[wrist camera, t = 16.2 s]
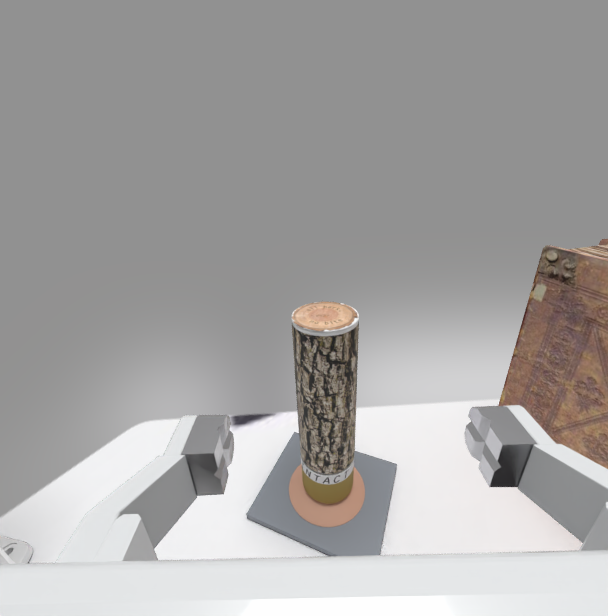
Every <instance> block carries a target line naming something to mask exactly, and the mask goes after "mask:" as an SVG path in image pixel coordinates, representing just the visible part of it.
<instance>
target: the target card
mask: <svg viewBox="0 0 608 616" xmlns="http://www.w3.org/2000/svg"><path fill="white" fill-rule="evenodd" d="M396 467H397V464H395V463H392V462H389V461H385V460H382V459H379V458H376V457H373V456H369V455H366V454H363V453H360V452H357V451H354V476H353V486H352V489H351V491H350V493H349V494H348V496H347V497H346V498H344V499H343V500H341V501H339V502H337V503H332V504H325V503H321V502H318V501H316V500H314V499H313V498H312V497H310V496H309V495H308V493H307V492H306V490H305V488H304V485H303V480H302V465H301V453H300V438H299V433H296V432H294V434H293V435H292V437H291V439H290V440H289V442H288V444H287V446H286V447H285V449H284V451H283V452H282V454H281V456H280V458H279V459H278V461H277V463H276V464H275V466H274V468H273V470H272V471H271V473H270V475H269V476H268V478H267V480H266V482H265V483H264V485H263V487H262V489H261V490H260V492H259V494H258V495H257V497H256V499H255V501H254V502H253V504H252V506H251V507H250V509H249V511H248V513H247V518H248V519H250V520H252V521H254V522H256V523H259V524H261V525H263V526H265V527H267V528H270V529H272V530H274V531H276V532H278V533H281V534H283V535H285V536H287V537H289V538H292V539H294V540H296V541H298V542H300V543H303V544H305V545H307V546H309V547H311V548H314V549H316V550H318V551H320V552H322V553H325V554H327V555H329V556H370V555H380V551H381V546H382V541H383V535H384V530H385V525H386V520H387V514H388V509H389V504H390V499H391V494H392V488H393V483H394V478H395V473H396Z"/></svg>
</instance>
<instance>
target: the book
mask: <svg viewBox="0 0 608 616" xmlns="http://www.w3.org/2000/svg"><path fill="white" fill-rule="evenodd" d="M508 405H520V406H522V407H523V408H524V409H525V410H526V411H527V412H528V413H529V414H530V415H531V416H532V417H533V419H534V420H535V421H536V422H537V423H538V424H539V425H540V426H541V428H542V429H543V430H544V431H545V432H546V433H547V434H548V435H549V436H550V438H551V439H552V440H553V441H554V442H555V443H556V444H562V445H564V446H566V447H568V448H570V449H571V450H573V451H575V452H577V453H579V454H581V455H583V456H584V457H586V458H588V459H590V460H592V461H594V462H595V463H597V464H599V465H601V466H603V467H605V468H606V469H608V239H602V240H601V241H600V243H599V246H592V247H584V248H577V249H569V250H567V249H563V248H559V247H555V246H550V245H547V246H545V247H544V248H543V251H542V254H541V258H540V261H539V265H538V268H537V272H536V275H535V279H534V282H533V286H532V290H531V293H530V297H529V300H528V304H527V307H526V311H525V314H524V318H523V321H522V325H521V328H520V332H519V335H518V339H517V342H516V346H515V349H514V353H513V356H512V360H511V363H510V367H509V370H508V374H507V377H506V381H505V385H504V388H503V391H502V395H501V398H500V402H499V406H508Z"/></svg>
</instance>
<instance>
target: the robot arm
mask: <svg viewBox="0 0 608 616" xmlns="http://www.w3.org/2000/svg"><path fill="white" fill-rule="evenodd" d="M469 418H470V419H471V422H470V423H469V424H468V425H467V426H466V429H465V441H466V445H467V448H468V450H469V452H470V454H471V455H472V456H473V457H474V458H476V459H477V460H478V461H480V464H479V470H480V471H481V473H482V475H483V477H484V478H485V480H486V482H487V483H488V485H489V487H518V489H519V490H520V491H521V492H522V493H524V494H525V495H526V496H527V497H528V498H530V499H531V500H532V501H533V502H534V503H536V504H537V505H538V506H539V507H540V508H542V509H543V510H544V511H545V512H546V513H548V514H549V515H550V516H551V517H552V518H554V519H555V520H556V521H557V522H558V523H560V524H561V525H562V526H563V527H564V528H566V529H567V530H568V531H569V532H570V533H572V534H573V535H574V536H575V537H576V538H578V539H579V540H580V541H581V542H582V543H583V544H582V546H581V548H580V550H579V551H538V552H496V553H454V554H413V555H370V556H326V557H282V558H239V559H195V560H158V558H157V556H156V553H155V551H154V548H155V547H156V546H157V545H158V543H159V542H160V541H161V540H162V539H163V537H164V536H165V535H166V534H167V533H168V531H169V530H170V529H171V528H172V527H173V525H174V524H175V523H176V522H177V521H178V519H179V518H180V517H181V516H182V515H183V514H184V512H185V511H186V510H187V509H188V508H189V506H190V505H191V504H192V503H193V502H194V500H195V499H196V498H197V496H201V495H218V494H224V491H225V487H226V483H227V479H228V470H227V467H228V466H229V465H230V464H231V462H232V458H233V451H234V438H233V433H232V432H231V431H229V428H230V425H231V422H230V418H229V416H228V415H199V416H184V417H182V418H181V419H180V421H179V424H178V426H177V428H176V430H175V432H174V434H173V436H172V438H171V440H170V442H169V444H168V446H167V448H166V450H165V453H164V455H163V456H158V457H156V458H155V459H154V460H153V461H151V462H150V463H149V464H148V465H146V466H145V467H144V468H143V469H141V470H140V471H139V472H137V473H136V474H135V475H134V476H132V477H131V478H130V479H129V480H127V481H126V482H125V483H124V484H122V485H121V486H120V487H119V488H117V489H116V490H115V491H113V492H112V493H111V494H110V495H108V496H107V497H106V498H105V499H103V500H102V501H101V502H100V503H98V504H97V505H96V506H95V507H93V508H92V509H91V510H90V511H88V512H87V513H86V514H85V515H84V517H83V518H82V520H81V522H80V523H79V525H78V526H77V528H76V530H75V531H74V533H73V534H72V536H71V538H70V539H69V541H68V543H67V544H66V546H65V547H64V549H63V551H62V552H61V554H60V555H59V557H58V559H57V560H56V562H55V563H28V562H29V560H30V558H31V555H32V552H33V548H32V547H31V546H30V545H29V544H28V543H26V542H23V541H19V540H15V539H11V538H8V537H4V536H0V616H608V469H606V468H605V467H603V466H601V465H599V464H597V463H595V462H594V461H592V460H590V459H588V458H586V457H584V456H583V455H581V454H579V453H577V452H575V451H573V450H571V449H570V448H568V447H566V446H564V445H562V444H556V443H555V442H554V441H553V440H552V439H551V438H550V436H549V435H548V434H547V433H546V432H545V431H544V430H543V429H542V428H541V426H540V425H539V424H538V423H537V422H536V421H535V420H534V419H533V417H532V416H531V415H530V414H529V413H528V412H527V411H526V410H525V409H524V408H523V407H522V406H520V405H508V406H487V407H472V408H471V410H470V412H469ZM11 552H12V553H11ZM10 553H11V554H10Z"/></svg>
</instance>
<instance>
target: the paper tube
mask: <svg viewBox="0 0 608 616" xmlns="http://www.w3.org/2000/svg"><path fill="white" fill-rule="evenodd" d="M358 317H359V315H358V312H357V311H356V310H355V309H354V308H352V307H350V306H348V305H345V304H342V303H337V302H315V303H310V304H306V305H303V306H301V307H299V308H297V309H296V310H295V311H294V312H293V314H292V335H293V348H294V349H293V350H294V364H295V379H296V394H297V408H298V424H299V438H300V453H301V465H302V480H303V485H304V488H305V490H306V492H307V493H308V495H309V496H310V497H312V498H313V499H314V500H316V501H318V502H321V503H325V504H332V503H337V502H339V501H341V500H343V499H344V498H346V497H347V496H348V494H349V493H350V491H351V489H352V486H353V476H354V451H355V421H356V389H357V388H356V387H357V360H358V330H359V328H358V327H359V319H358Z"/></svg>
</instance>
